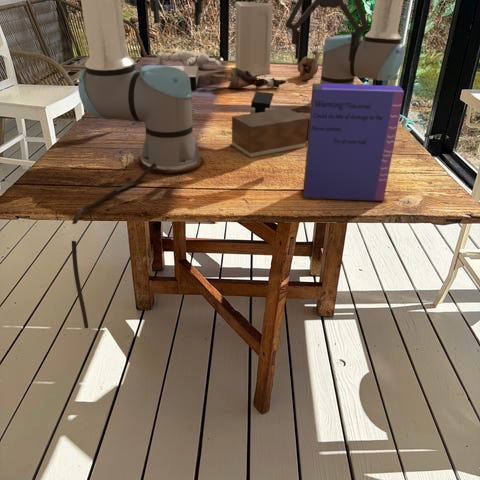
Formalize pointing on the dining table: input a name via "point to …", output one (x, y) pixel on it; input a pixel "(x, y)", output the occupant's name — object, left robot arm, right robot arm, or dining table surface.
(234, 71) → the figurine
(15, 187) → the dining table surface
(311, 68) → the anatomical model
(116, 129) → the dining table surface
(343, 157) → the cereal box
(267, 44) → the paper bag
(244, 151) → the wooden chest box
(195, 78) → the disc drive
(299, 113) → the drawer
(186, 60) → the toy
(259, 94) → the figurine character
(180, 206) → the dining table surface
